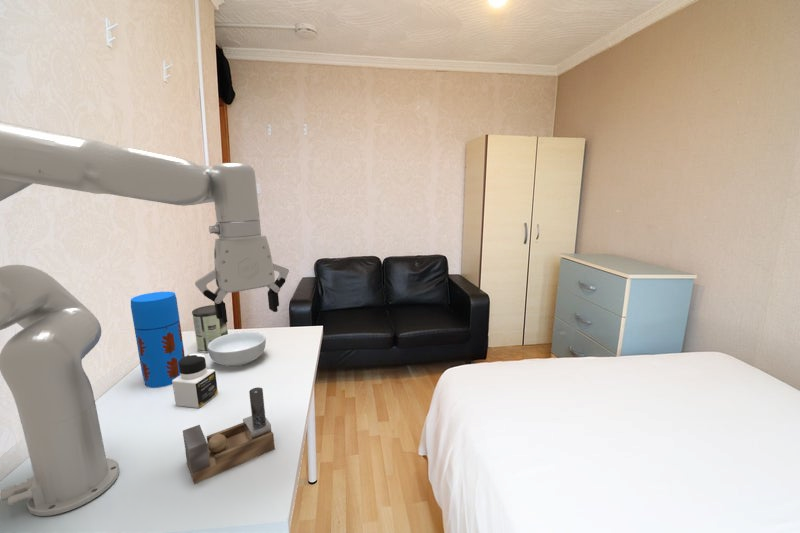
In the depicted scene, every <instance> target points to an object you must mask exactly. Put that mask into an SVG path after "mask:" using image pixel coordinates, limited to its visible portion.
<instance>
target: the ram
mask: <svg viewBox="0 0 800 533" xmlns="http://www.w3.org/2000/svg"><path fill="white" fill-rule="evenodd" d="M248 393H249V400H250V411H251V412H250V413H251V415H250V416H248V417H245V418H243V419H242V423H243V424H244V431H245V433H246V435H247V436H248V438H249V440H253V439H255V438H258V437H260V436H263V435H265V434H267V433H270V432H273V430H272V423H270V421H269V420H268V418H267V417H266V411H265V410H266V409H265V401H264V390H263V388H262V387H260V386H259V387H254V388H251V389H250V390H249V392H248Z"/></svg>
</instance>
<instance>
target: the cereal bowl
mask: <svg viewBox="0 0 800 533" xmlns="http://www.w3.org/2000/svg"><path fill="white" fill-rule="evenodd" d="M265 348H266V336H265V335H264V334H263V333H261V332H257V331H256V332H255V331H239V332H232V333H228V334H227V335H223V336H221V337H218V338H216V339H214V340H213V341H211V342H210V343H209V344H208V352H209V353H208V355H209V357H210V359H211V360H212V361H213V362H214V363H216V364H219V365H221V366H227V367H241V366H245V365H247V364H250V363H251V362H253V361H254V360H256V359H258V358H259V357H260V356H261V355H262V354H263V352H264V351H265Z"/></svg>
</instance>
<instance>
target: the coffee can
mask: <svg viewBox="0 0 800 533" xmlns="http://www.w3.org/2000/svg"><path fill="white" fill-rule="evenodd" d="M191 314H192V319H193V326H194V332H195V339H196V340H195V341H196V346H197V352H198V353H200V354H201V353H202V354H209V352H208V344H209V343H210V342H211V341H213V340H214V339H216V338H218V337H221V336H223V335H227V334H229V333H228V324H227V323H228V321H227V322H226V323H223V322H222V321H221V320H220V319H217V317H216V311H215V304H210V305H204V306H200V307H197V308H194V309H193V310H192V311H191Z"/></svg>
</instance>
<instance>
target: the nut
mask: <svg viewBox="0 0 800 533" xmlns="http://www.w3.org/2000/svg"><path fill="white" fill-rule="evenodd" d="M226 444H227V439H226V437H225V436H224V435H222V434H216V435H214V436H212V437H211V438H210V440H209V442H208V449H209V450H210V451H211V452H213V453H218V452H221V451H222V450H223V449H224V448H225V447H226Z"/></svg>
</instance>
